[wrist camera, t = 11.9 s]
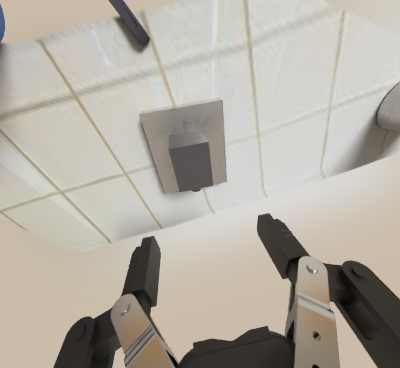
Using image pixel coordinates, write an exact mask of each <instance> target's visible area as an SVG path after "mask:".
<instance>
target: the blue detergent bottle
mask: <svg viewBox="0 0 400 368" xmlns="http://www.w3.org/2000/svg"><path fill="white" fill-rule="evenodd" d="M4 22H5V21H4V16H3V12H2V8H1V5H0V42H1V40H2V38H3V36H4V31H5V23H4Z"/></svg>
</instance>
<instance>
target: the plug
mask: <svg viewBox="0 0 400 368" xmlns="http://www.w3.org/2000/svg"><path fill="white" fill-rule="evenodd" d="M169 153H170V157H171V161H172V165H173V169H174V173H175V177H176V180H177V184H178V188H179V192H182V191H187V190H192V191H194V192H197V191H200V190H201V188H203V187H208V186H213V177H212V168H211V159H210V150H209V142H208V140H207V138H206V137H205V135H204V133H203V132H202V130H200V131H195V132H189V133H183V134H178V135H172V136H170V138H169Z"/></svg>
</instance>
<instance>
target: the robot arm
mask: <svg viewBox="0 0 400 368" xmlns="http://www.w3.org/2000/svg"><path fill="white" fill-rule="evenodd" d="M377 123H378V125H379V126H380V127H381V128H384V129H389V130H393V131H398V132H400V83H399V84H398V85H396V86H395V87H394V88H393V89H392V90H391V91H390V93H389V94H388V95H387V96H386V98H385V99H384V101H383V102H382V104H381V106H380V108H379V111H378V114H377ZM257 232H258V235H259V237H260V239H261V241H262V243H263V244H264V246H265V248H266V250H267V252H268V253H269V255H270V257H271V259H272V261H273V262H274V264H275V266H276V268H277V270H278V272H279V273H280V275H281V277H282V279H286V278H289V280H290V282H291V287H290V297H289V307H288V316H287V321H286V327H285V336H283V335H281V334H279V333H276V332H273V331H269V329H268V326H265V327H261V328H256V329H252V330H249V331H247V332H246V333H244V334H243V335H241V336H240V337H238V338H237V339H235V340H233V341H225V340H217V339H208V340H204V341H199V342H195V343H193V347H194V348H193V349H191V350H190V351H189V352H188V353H187V354H186V355H185V356H184V357H183V358H182V360H181V361H180V362H179V363H178V361H177V359H176V357H175V356H174V354H173V352H172V351H171V349H170V348H169V347H168V345H167V343H166V342H165V340H164V339H163V337H162V335H161V333H160V331H159V330H158V328H157V326H156V325H155V323H154V321H153V320H152V318H151V316H150V312H151V307H154V306H156V304H157V293H158V281H159V269H160V257H161V253H160V248H159V246H158V244H157V241H156V240H155V237H154V236H151V237H146V238H143V240H142V244H141V246H140V247H136V249H135V250H134V252H133V254H132V257H131V261H130V265H129V269H128V272H127V276H126V280H125V284H124V288H123V292H122V295H121V297H120V298H119V299H118V300H117V301H116V303H115V304H114V306H113V307H112V308H111V309H110V310H108V311H106V312H105V313H103V314H101V315H99V316H98V317H96V318H94V319H93V318H91V317H84V318H82V319H80V320H79V321H77V322H76V323H75V324H74V325H73V326H72V327H71V329H70V330H69V331H68V333H67V335H66V337H65V340H64V342H63V345H62V347H61V350H60V352H59V355H58V357H57V360H56V363H55V365H54V368H112V365H113V360H114V355H115V351H116V350H117V349H119V348H120V347H122V348H123V351H124V354H125V359H124V363H125V367H126V368H340V362H339V351H338V342H337V330H336V320H335V315H334V312H333V311H331V309H330V301H331V302H334V303H335V304H336V306H337V308H338V309H339V310H340V312H341V314H342V315H343V317H344V318H345V320H346V321H347V323H348V324H349V326H350V327H351V329H352V330H353V332H354V333H355V334H356V336H357V338H358V339H359V340H360V342H361V343H362V345H363V346H364V348H365V349H366V351H367V352H368V354H369V355H370V357H371V358H372V360H373V361H374V363H375V364H376V366H377V367H378V368H400V299H399V298H398V297H397V296H396V295H395V294H394V293H393V292H392V291H391V290H390V289H389V288H388V287H387V286H386V285H385V284H384V283H383V282H382V281H381V280H380V279H379V278H378V277H377V276H376V275H375V274H374V273H373V272H372V271H371V270H370V269H369V268H368V267H366V266H364V265H363V264H360V263H358V262H355V261H346V262H344V263H343V265H342V266H341V265H332V264H325V263H322V262H320V261H319V260H318V259H315V258H313V257H311V256H309V254H308V253H307V252H306V251H305V249H304V248H303V247H302V245H301V244H300V243H299V242H298V240H297V239H296V238H295V236H293V234H292V233H291V231H289V229H288V228H287V226H286V225H285V224H284V223H283V222H281V221H280V220H278V219H275V220H274V219H273V218H272V216H271V215H270V214H263V215H259V216H258V223H257Z"/></svg>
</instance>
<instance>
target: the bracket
mask: <svg viewBox="0 0 400 368" xmlns="http://www.w3.org/2000/svg"><path fill="white" fill-rule="evenodd" d="M109 1H110V3H111V4H112V5H113V7H114V8H115V9H116V11H117V12H118V13H119V15H120V16H121V17H122V19H123V20H124V21H125V23H126V24H127V26H128V27H129V28H130V30H131V31H132V32H133V34H134V35H135V36H136V38H137V39H138V40H139V42H140V43H141V44H142V45H143V46H144V45H145V43H146V42H147V41H148V40H149V39H150V38H149V36H148V35H147V33H146V32H145V30H144V29H143V27H142V26H141V24H140V23H139V22H138V20H137V19H136V17H135V16H134V15H133V13H132V12H131V11H130V9H129V8H128V6H127V5H126V4H125V2H124V1H123V0H109Z"/></svg>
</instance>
